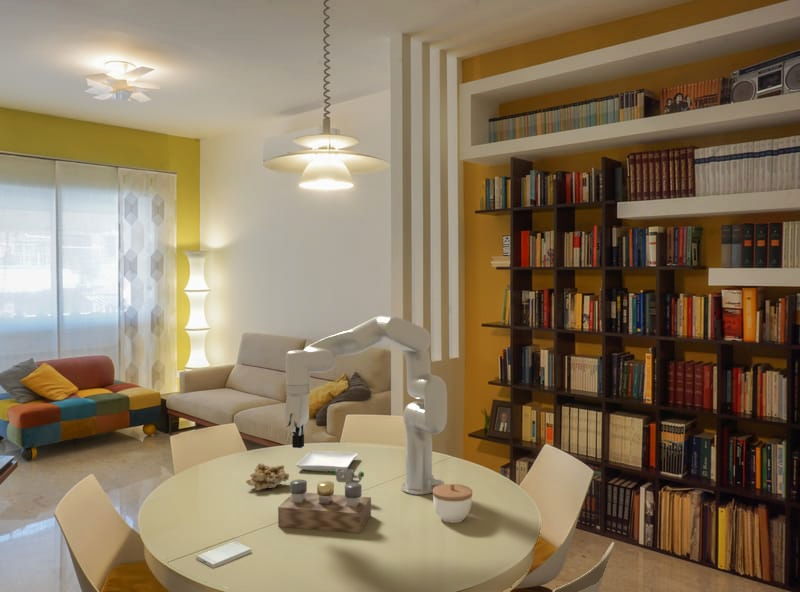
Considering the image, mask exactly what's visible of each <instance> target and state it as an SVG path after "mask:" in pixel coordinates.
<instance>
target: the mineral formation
mask: <svg viewBox="0 0 800 592" xmlns="http://www.w3.org/2000/svg"><path fill="white" fill-rule="evenodd" d="M255 467H256V468H254V472H253V473H251V474H250V475H249V477H250V479H246V480H245V483H246V484H247V485H249V486H250V487H251V486H252V487H254V489H255V490H256V491H260V490H265V489H267V488H269V489H271V488H272V490H273V488H274V489H275V488H276V487H277V485H279V484H280V483H282V482H284V483H285V482H287V480H288V481H289V480H290V479H289V477H290V474H289V473H286V472H285V465H283V464H281V465H276V466H273V465H271V466H269V465H266V464H265V463H262V462H260V463H258V464H257V465H256V466H255Z"/></svg>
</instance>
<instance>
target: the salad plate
mask: <svg viewBox="0 0 800 592" xmlns="http://www.w3.org/2000/svg"><path fill="white" fill-rule="evenodd" d="M358 456H359V453H358V452H351V451H335V450H334V451H330V450H329V451H327V450H326V451H325V450H310V451H309V452H307V454H305V455H304V457H302V458H301V459H300V460H298V462H297V463H296V467H297V468H299V469H301V470H304V471H309V470H310V471H312V472H313V471H314V472H328V471H330V472H331V473H332V472H333V471H335V470H338V469H349V466H350V465H351V464H352V462H354V460H355V459H356V458H357V457H358ZM333 473H334V472H333Z"/></svg>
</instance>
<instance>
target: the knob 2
mask: <svg viewBox="0 0 800 592" xmlns="http://www.w3.org/2000/svg"><path fill="white" fill-rule="evenodd" d="M362 491H363V490H362V484H360V483H349V484H346V483H345V485H344V495H345V497H347V506H351V507H358V506H359V497H362Z"/></svg>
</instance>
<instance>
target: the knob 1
mask: <svg viewBox="0 0 800 592" xmlns="http://www.w3.org/2000/svg"><path fill="white" fill-rule="evenodd" d="M307 482H308V481H307V480H305V479H300V478H299V479H294V480H291V481H290V482H289V487H290V488H289V492H290V493H291V495H292V502H298V503H303V502H304V501H305V493H308V492H307V491H308V490H307V489H308V487H307V486H308V484H307Z"/></svg>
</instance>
